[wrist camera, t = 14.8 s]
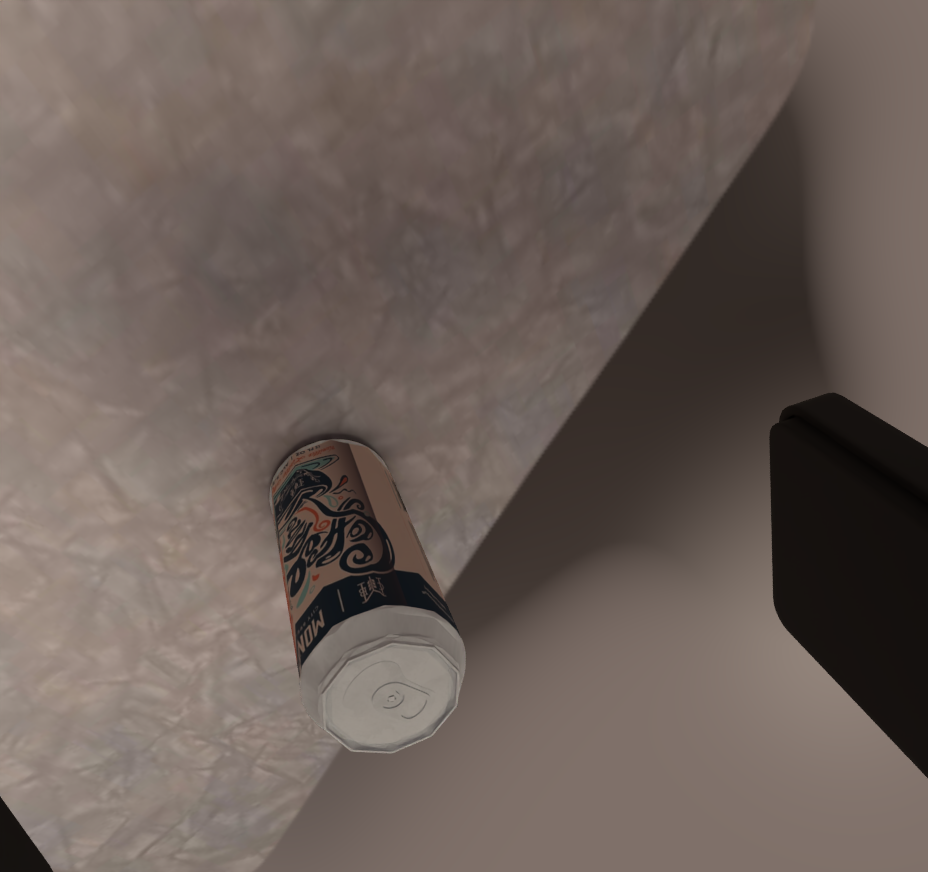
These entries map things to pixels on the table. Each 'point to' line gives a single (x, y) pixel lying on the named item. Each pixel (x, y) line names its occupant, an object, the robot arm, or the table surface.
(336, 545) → the beer can
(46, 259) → the table surface
